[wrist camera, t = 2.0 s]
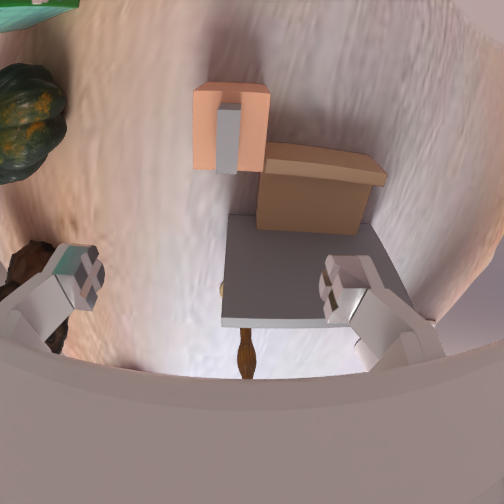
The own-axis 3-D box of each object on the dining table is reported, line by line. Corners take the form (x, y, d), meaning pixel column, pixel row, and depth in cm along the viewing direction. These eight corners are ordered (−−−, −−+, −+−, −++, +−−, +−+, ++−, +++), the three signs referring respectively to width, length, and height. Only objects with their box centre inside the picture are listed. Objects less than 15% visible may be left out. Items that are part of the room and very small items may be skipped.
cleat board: (392, 160, 30) (464, 238, 18) (359, 253, 40) (394, 341, 28) (231, 139, 29) (221, 219, 17) (227, 247, 39) (221, 348, 27)
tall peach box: (264, 84, 25) (274, 99, 16) (258, 143, 29) (264, 187, 21) (206, 81, 24) (185, 96, 16) (205, 141, 29) (187, 184, 21)
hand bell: (228, 267, 42) (224, 364, 30) (278, 280, 44) (289, 372, 32) (213, 300, 47) (207, 386, 35) (258, 310, 49) (262, 394, 37)
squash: (63, 198, 26) (-21, 165, 11) (-7, 190, 25) (-77, 168, 10) (97, 94, 27) (50, 23, 12) (23, 101, 25) (-28, 55, 10)
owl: (24, 234, 36) (-32, 322, 21) (76, 239, 37) (21, 345, 22) (45, 283, 44) (8, 366, 29) (94, 291, 45) (61, 387, 30)
